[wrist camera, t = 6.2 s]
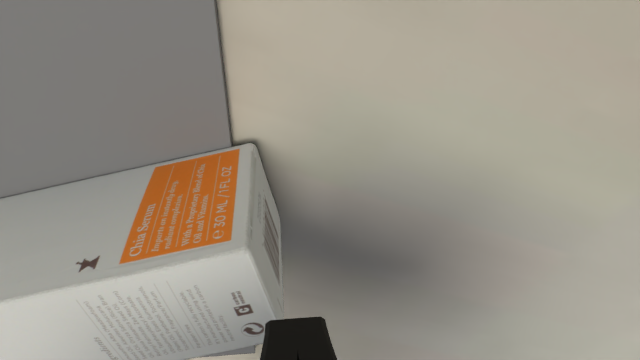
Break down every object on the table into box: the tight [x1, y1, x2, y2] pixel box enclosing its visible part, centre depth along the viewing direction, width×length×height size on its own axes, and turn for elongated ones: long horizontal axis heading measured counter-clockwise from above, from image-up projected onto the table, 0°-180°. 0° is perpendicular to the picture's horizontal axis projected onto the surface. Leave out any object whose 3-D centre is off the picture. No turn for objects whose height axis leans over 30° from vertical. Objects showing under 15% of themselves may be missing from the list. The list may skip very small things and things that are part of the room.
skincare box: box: [0, 143, 284, 360], centre depth 16 cm, size 6×4×12 cm
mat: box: [0, 0, 255, 357], centre depth 17 cm, size 24×10×1 cm, turn 179°
